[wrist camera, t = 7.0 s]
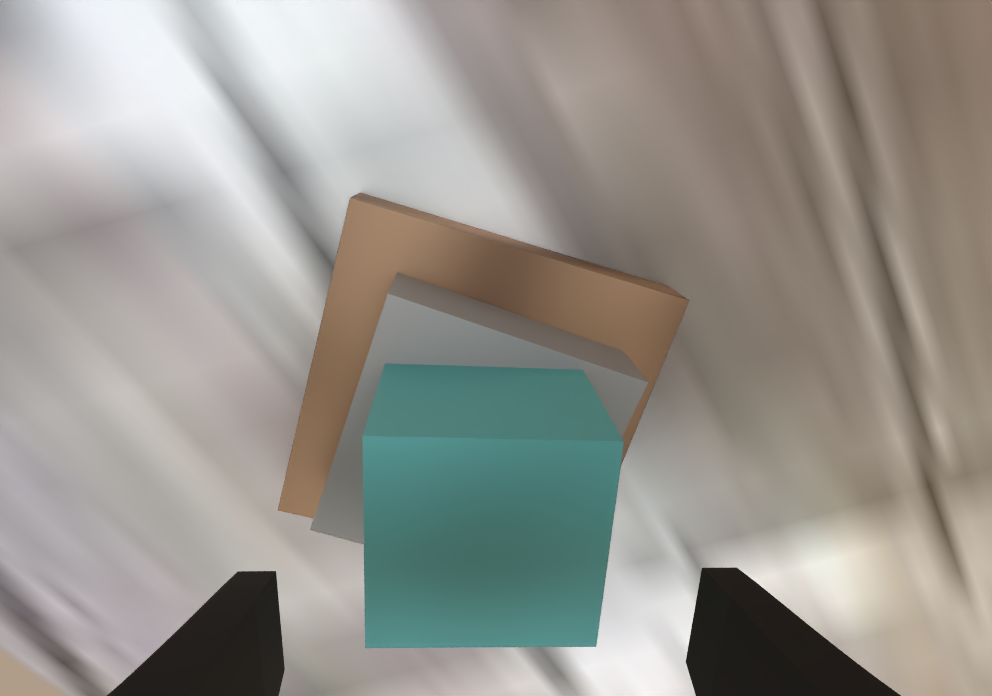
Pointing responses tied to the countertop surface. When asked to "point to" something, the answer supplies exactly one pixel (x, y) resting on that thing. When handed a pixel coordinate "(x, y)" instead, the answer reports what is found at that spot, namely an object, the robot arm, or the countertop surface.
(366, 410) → the grey middle slab
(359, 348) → the walnut base slab
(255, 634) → the robot arm
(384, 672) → the countertop surface
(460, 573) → the teal block
